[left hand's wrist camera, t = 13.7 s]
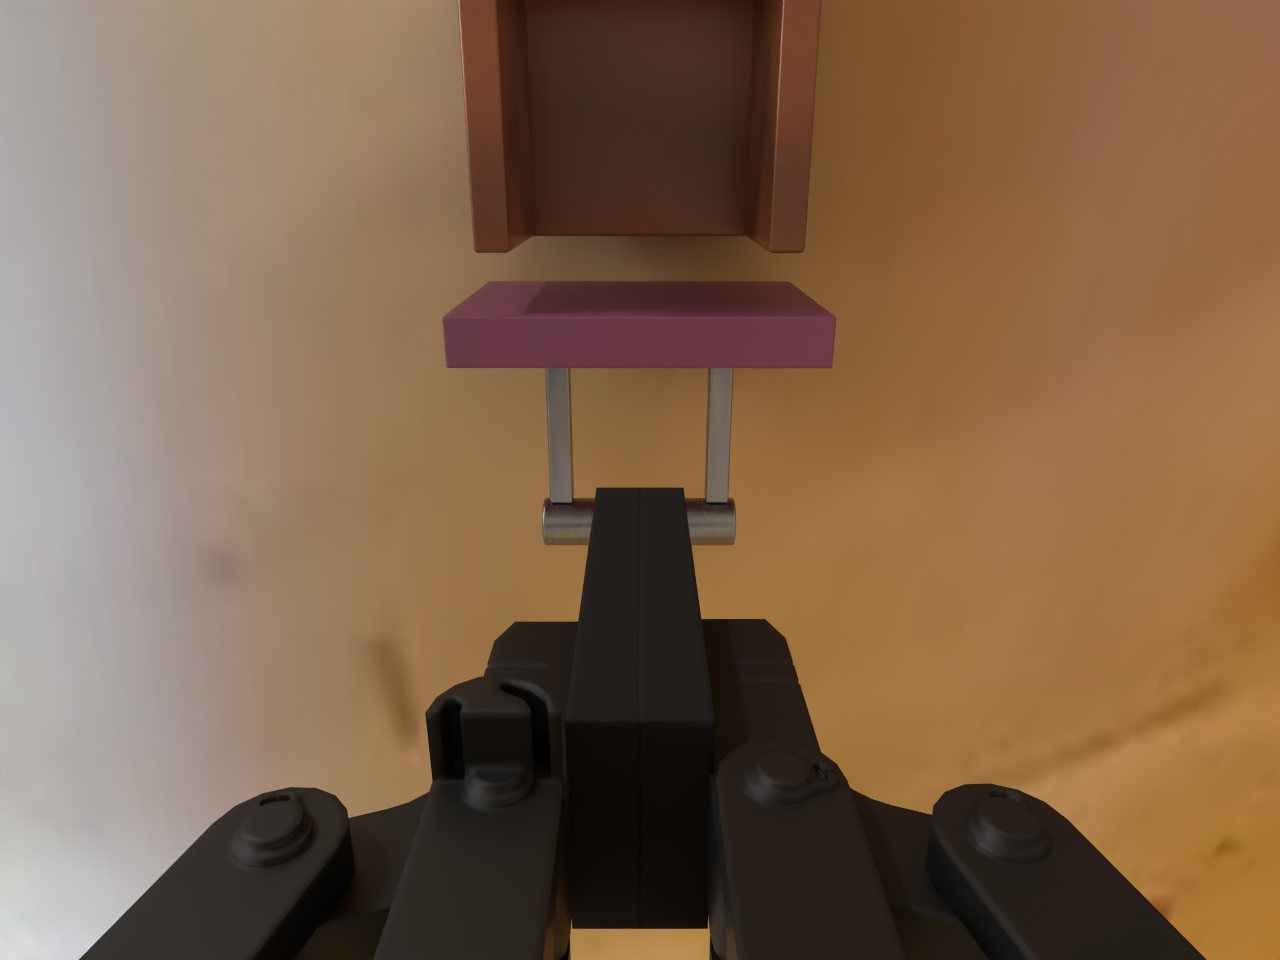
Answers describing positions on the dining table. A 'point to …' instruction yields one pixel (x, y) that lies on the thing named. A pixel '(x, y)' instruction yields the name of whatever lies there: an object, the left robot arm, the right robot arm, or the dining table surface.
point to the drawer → (639, 201)
